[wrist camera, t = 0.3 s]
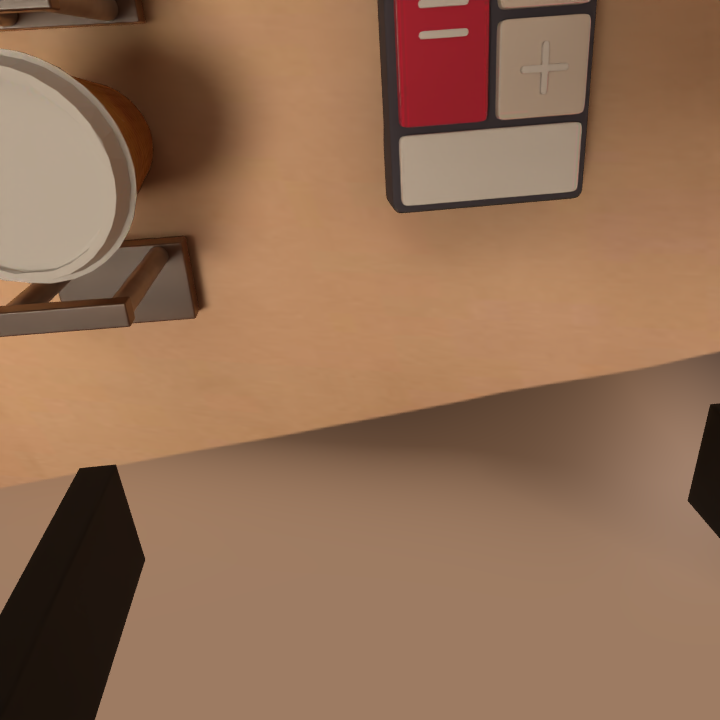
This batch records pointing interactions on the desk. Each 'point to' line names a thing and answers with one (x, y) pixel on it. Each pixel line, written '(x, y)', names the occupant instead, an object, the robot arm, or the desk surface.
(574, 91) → the calculator
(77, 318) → the bookends
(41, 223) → the disposable coffee cup
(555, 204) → the desk surface
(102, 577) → the robot arm
